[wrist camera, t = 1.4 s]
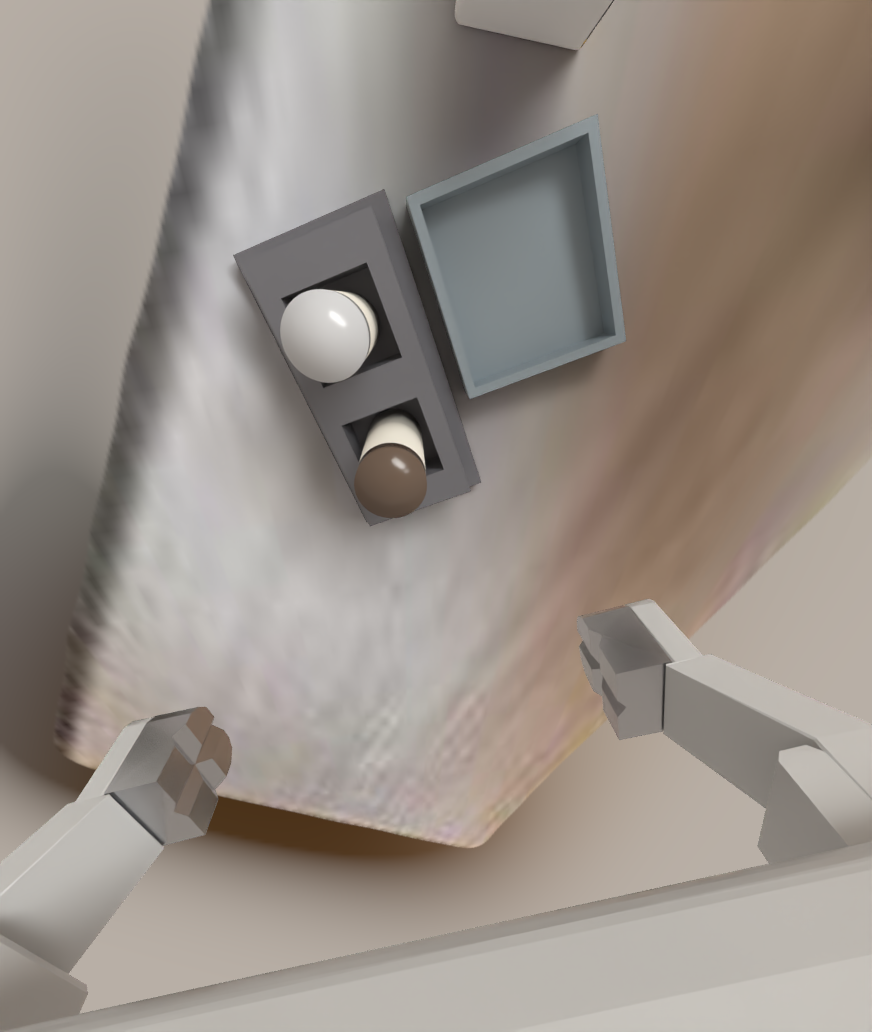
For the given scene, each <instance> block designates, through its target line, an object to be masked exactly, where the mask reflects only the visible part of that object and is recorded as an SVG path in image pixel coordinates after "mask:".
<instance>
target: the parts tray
mask: <svg viewBox="0 0 872 1032" xmlns="http://www.w3.org/2000/svg"><path fill="white" fill-rule="evenodd" d="M406 206H407V209H408V212H409V215H410V218H411V222H412V225H413V228H414V231H415V234H416V237H417V241H418V244H419V247H420V250H421V253H422V256H423V260H424V263H425V266H426V269H427V272H428V275H429V279H430V282H431V285H432V288H433V291H434V294H435V298H436V301H437V304H438V307H439V310H440V313H441V317H442V320H443V323H444V326H445V329H446V333H447V336H448V339H449V342H450V345H451V348H452V352H453V355H454V358H455V361H456V364H457V367H458V371H459V374H460V377H461V380H462V383H463V386H464V390H465V392H466V394H467V396H468V397H469V399H472V398H474V397H477V396H480V395H483V394H485V393H488V392H491V391H493V390H496V389H499V388H501V387H504V386H507V385H509V384H512V383H515V382H517V381H520V380H523V379H526V378H528V377H531V376H534V375H536V374H539V373H542V372H544V371H547V370H550V369H552V368H555V367H558V366H560V365H563V364H566V363H569V362H571V361H574V360H577V359H579V358H582V357H585V356H587V355H590V354H593V353H595V352H598V351H601V350H604V349H606V348H609V347H612V346H614V345H617V344H620V343H622V342H625V341H626V336H625V328H624V320H623V312H622V304H621V297H620V289H619V281H618V273H617V265H616V257H615V249H614V241H613V233H612V225H611V217H610V209H609V201H608V193H607V185H606V177H605V170H604V162H603V154H602V146H601V138H600V130H599V122H598V114H596V115H594V116H591V117H589V118H587V119H584V120H582V121H580V122H578V123H575V124H573V125H571V126H568V127H566V128H564V129H561V130H559V131H557V132H554V133H552V134H550V135H548V136H545V137H543V138H541V139H538V140H536V141H534V142H531V143H529V144H527V145H524V146H522V147H520V148H518V149H515V150H513V151H511V152H508V153H506V154H504V155H501V156H499V157H497V158H495V159H492V160H490V161H488V162H485V163H483V164H481V165H478V166H476V167H474V168H471V169H469V170H467V171H465V172H462V173H460V174H458V175H455V176H453V177H451V178H448V179H446V180H444V181H441V182H439V183H437V184H435V185H432V186H430V187H428V188H425V189H423V190H421V191H418V192H416V193H414V194H411V195H409V196H407V197H406Z"/></svg>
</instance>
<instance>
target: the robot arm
mask: <svg viewBox="0 0 872 1032" xmlns="http://www.w3.org/2000/svg"><path fill="white" fill-rule="evenodd" d="M577 628H578V632H579V634H580V636H581V637H582V639H583V641H582V643H581V644H580V646H579V648H580V655H581V660H582V664H583V668H584V671H585V674H586V676H587V678H588V681H589V683H590V685H591V687H592V689H593V691H594V692H596V693H597V694H599V695H601V696H602V700H603V710H604V712H605V714H606V716H607V718H608V720H609V722H610V723H611V725H612V727H613V729H614V731H615V733H616V735H617V737H618V739H619V740H622V739H627V738H632V737H637V736H642V735H646V734H652V733H657V732H662V731H664V734H665V735H666V736H668V737H669V738H670V739H671V740H673V741H674V742H676V743H677V744H679V745H680V746H681V747H683V748H684V749H685V750H687V751H688V752H689V753H691V754H692V755H693V756H695V757H696V758H697V759H699V760H700V761H702V762H703V763H705V764H706V765H707V766H708V767H710V768H711V769H712V770H714V771H715V772H717V773H718V774H719V775H721V776H722V777H723V778H725V779H726V780H727V781H729V782H730V783H732V784H733V785H735V786H736V787H737V788H738V789H740V790H741V791H743V792H744V793H745V794H747V795H748V796H749V797H751V798H752V799H754V800H755V801H756V802H758V803H759V804H760V805H762V806H763V807H764V808H766V811H765V815H764V820H763V824H762V829H761V833H760V838H759V842H758V848H759V849H760V851H761V852H762V854H763V855H764V857H765V858H766V860H767V861H768V863H769V864H765V865H761V866H756V867H751V868H747V869H742V870H738V871H733V872H728V873H724V874H720V875H715V876H710V877H706V878H701V879H696V880H692V881H687V882H683V883H678V884H674V885H669V886H664V887H660V888H655V889H650V890H646V891H642V892H637V893H632V894H627V895H623V896H618V897H614V898H609V899H604V900H601V901H595V902H591V903H587V904H582V905H577V906H573V907H568V908H563V909H558V910H554V911H550V912H545V913H540V914H536V915H531V916H526V917H522V918H517V919H513V920H508V921H503V922H499V923H495V924H490V925H485V926H480V927H476V928H472V929H467V930H462V931H458V932H453V933H449V934H444V935H439V936H435V937H431V938H425V939H421V940H416V941H412V942H407V943H402V944H398V945H393V946H389V947H384V948H379V949H375V950H370V951H366V952H361V953H356V954H352V955H347V956H343V957H338V958H334V959H329V960H324V961H320V962H316V963H310V964H306V965H301V966H297V967H292V968H287V969H283V970H278V971H274V972H269V973H265V974H260V975H255V976H251V977H246V978H242V979H237V980H232V981H228V982H223V983H219V984H214V985H210V986H205V987H200V988H196V989H191V990H187V991H182V992H178V993H173V994H168V995H164V996H159V997H155V998H150V999H145V1000H141V1001H136V1002H132V1003H127V1004H123V1005H118V1006H113V1007H109V1008H104V1009H100V1010H96V1011H90V1012H86V1013H82V1014H79V1013H80V1010H81V1008H82V1006H83V1004H84V1001H85V999H86V997H87V995H88V991H87V985H86V984H84V983H83V982H81V981H79V980H78V979H76V978H74V977H72V976H71V975H69V972H70V971H71V970H72V968H73V967H74V966H75V964H76V963H77V962H78V960H79V959H80V958H81V956H82V955H83V954H84V952H85V951H86V950H87V949H88V947H89V946H90V945H91V943H92V942H93V941H94V939H95V938H96V937H97V935H98V934H99V933H100V931H101V930H102V929H103V928H104V926H105V925H106V924H107V922H108V921H109V920H110V918H111V917H112V916H113V914H114V913H115V912H116V910H117V909H118V908H119V906H120V905H121V904H122V903H123V901H124V900H125V899H126V897H127V896H128V895H129V893H130V892H131V891H132V890H133V888H134V887H135V886H136V884H137V883H138V882H139V880H140V879H141V877H142V876H143V875H144V874H145V873H146V871H147V870H148V869H149V867H150V866H151V865H152V863H153V862H154V861H155V859H156V858H157V857H158V855H159V854H160V853H161V851H162V850H163V849H164V847H163V846H164V845H168V844H172V843H176V842H179V841H183V840H187V839H191V838H195V837H198V836H202V835H205V834H206V831H207V828H208V826H209V823H210V820H211V817H212V814H213V812H214V809H215V807H216V804H217V801H218V797H217V793H216V790H215V789H216V788H217V787H218V786H219V785H220V783H221V782H222V781H223V780H224V779H225V778H226V776H227V773H228V770H229V768H230V765H231V756H232V746H231V743H230V739H229V737H228V735H227V734H226V733H225V731H224V730H222V729H220V728H218V727H216V726H213V725H212V724H213V720H214V716H213V715H212V714H211V712H210V711H209V710H208V709H207V707H196V708H192V709H187V710H182V711H177V712H173V713H168V714H163V715H158V716H155V717H151V718H147V719H142V720H137V721H133V722H131V723H130V724H129V725H127V726H126V727H124V729H123V730H122V732H121V733H120V735H119V736H118V738H117V739H116V741H115V742H114V744H113V745H112V747H111V748H110V750H109V751H108V753H107V754H106V756H105V758H104V759H103V761H102V762H101V764H100V765H99V767H98V768H97V770H96V771H95V773H94V774H93V776H92V777H91V779H90V781H89V782H88V783H87V785H86V786H85V788H84V789H83V791H82V793H81V794H80V796H79V797H78V799H77V800H76V802H73V803H69V804H67V805H66V806H65V807H64V808H62V809H61V810H60V811H59V812H58V813H57V814H56V815H54V816H53V817H52V818H51V819H50V820H49V821H47V822H46V823H45V824H44V825H43V826H42V827H41V828H39V829H38V830H37V831H36V832H35V833H34V834H33V835H31V836H30V837H29V838H28V839H27V840H26V841H25V842H23V843H22V844H21V845H20V846H19V847H18V848H17V849H15V850H14V851H13V852H12V853H11V854H10V855H9V856H7V857H6V858H5V859H4V860H3V861H2V862H1V863H0V1032H872V724H870V723H868V722H866V721H864V720H862V719H859V718H857V717H854V716H852V715H850V714H848V713H845V712H843V711H841V710H839V709H836V708H834V707H832V706H829V705H827V704H825V703H822V702H820V701H818V700H816V699H813V698H811V697H809V696H806V695H804V694H802V693H800V692H797V691H795V690H792V689H790V688H788V687H786V686H783V685H781V684H779V683H777V682H774V681H772V680H770V679H767V678H765V677H763V676H760V675H758V674H756V673H754V672H751V671H749V670H747V669H744V668H742V667H740V666H738V665H735V664H733V663H731V662H728V661H726V660H724V659H721V658H719V657H717V656H715V655H712V654H708V655H702V654H701V653H700V652H699V651H698V650H697V649H696V647H695V646H694V645H693V644H692V643H691V642H690V640H689V639H688V638H687V637H686V636H685V635H684V634H683V633H682V632H681V630H680V629H679V628H678V627H677V626H676V625H675V624H674V623H673V622H672V620H671V619H670V618H669V617H668V616H667V615H666V614H665V613H664V611H663V610H662V609H661V608H660V607H659V606H658V605H657V604H656V603H655V601H653V600H651V599H645V600H641V601H637V602H633V603H629V604H626V605H625V606H624V605H622V606H618V607H614V608H610V609H606V610H602V611H598V612H594V613H590V614H586V615H582V616H578V619H577Z"/></svg>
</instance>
